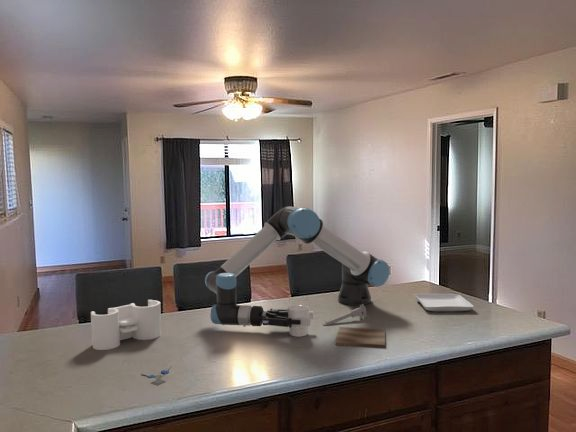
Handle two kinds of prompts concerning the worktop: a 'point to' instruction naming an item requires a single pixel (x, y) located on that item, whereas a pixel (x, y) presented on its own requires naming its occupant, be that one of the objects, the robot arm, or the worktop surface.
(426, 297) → the salad plate
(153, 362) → the worktop surface
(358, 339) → the walnut board
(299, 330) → the white cup
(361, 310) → the caliper
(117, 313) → the bracket
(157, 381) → the key chain
